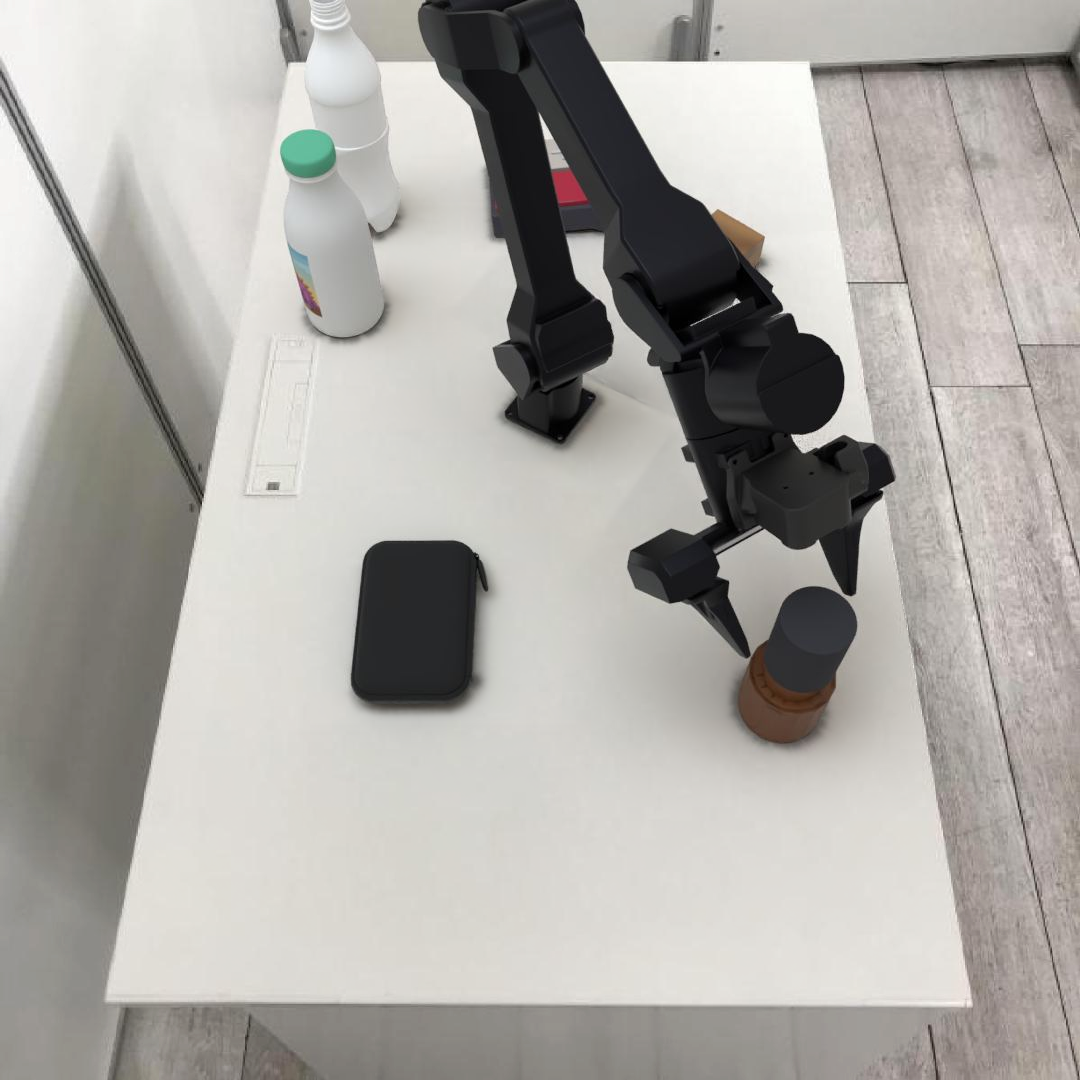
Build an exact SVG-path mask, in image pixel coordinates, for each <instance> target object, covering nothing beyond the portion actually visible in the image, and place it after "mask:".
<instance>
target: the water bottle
mask: <svg viewBox="0 0 1080 1080" xmlns="http://www.w3.org/2000/svg"><path fill="white" fill-rule="evenodd" d="M308 1H309V5H310V8H311V11H310V24H311V26H312V27H313V28H314V35H313V40H312V43H311V45H310V47H309V51H308V53H307V58H306V61H305V65H304V70H303V82H304V83H303V84H304V89H305V92H306V94H307V96H308V101H309V106H310V110H311V113H312V118H313V122H314V130H319V131H322V132H324V133H326V134H327V135H329V136H330V138H331V139H332V141H333V143H334V147H335V151H336V157H337V160H338V165H337V170H338V172H339V174H340V176H341V177H342V178H343V180H344V181H345V182H346V183H347V184H348V185H349V187H350V188H351V189H352V190H353V191H354V193H355V194H356V195H357V197H358V199H359V200H360V202H361V204H362V206H363V209H364V212H365V214H366V218H367V222H368V224H370V226H371V227H372V228H373V230H375V232H376V233H382V232H385V231H386V230H389V228H390V227H391V225H393V223H394V221H395V219H396V217H397V213H398V212H399V208H400V204H401V191H400V184H399V182H398V179H397V177H396V175H395V172H394V170H393V166H392V162H391V157H390V152H389V151H390V150H389V145H390V144H389V140H390V139H389V137H390V136H389V135H390V123H389V119H388V116H387V114H386V107H385V102H384V95H383V89H382V74H381V69H380V67H379V64H378V63H377V61H376V59H375V57H374V55H373V54H372V53H371V52H370V50H369V49H368V47H367V46H366V45H365V44H364V42H363V41H362V40H361V39H360V38H359V36H358V35H357V34H356V33H355V32H354V30H353V28H352V25H351V24H350V22H351V19H352V17H351V13H350V11H349V9H348V7H347V5H346V0H308Z"/></svg>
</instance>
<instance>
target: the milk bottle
mask: <svg viewBox="0 0 1080 1080" xmlns="http://www.w3.org/2000/svg"><path fill="white" fill-rule="evenodd" d="M279 153H280V158H281V163H282V165H283V170H284V172H285V174H286V176H287V177H288V178H289V181H288V191H287V195H286V198H285V201H284V205H283V214H282V217H283V218H282V219H283V220H282V221H283V230H284V237H285V239H286V244H287V248H288V252H289V255H290V259H291V263H292V267H293V270H294V273H295V277H296V280H297V284H298V287H299V290H300V294H301V297H302V300H303V301H302V302H303V304H304V307H305V310H306V313H307V316H308V319H309V322H310V323H311V324H312V325H313V326H314V327H315V328H316V329H317V330H318V331H320V332H321V333H323V334H325V335H328V336H331V337H337V338H351V337H356V336H358V335H362V334H364V333H365V332H368V331H369V330H370V329H372V328H373V327H374V326H375V325H377V323H378V322H379V320H380V319H381V317H382V315H383V312H384V309H385V299H384V293H383V289H382V284H381V283H382V282H381V278H380V277H381V276H380V273H379V268H378V264H377V257H376V253H375V248H374V243H373V239H372V234H371V229H370V226H369V223H368V222H367V218H366V214H365V212H364V209H363V206H362V204H361V202H360V200H359V199H358V197H357V195H356V194H355V193H354V191H353V190H352V189H351V188H350V187H349V185H348V184H347V183H346V182H345V181H344V180H343V178H342V177H341V176H340V174H339V172H338V170H337V165H338V160H337V157H336V151H335V147H334V143H333V141H332V139H331V138H330V136H329V135H327V134H326V133H324V132H322V131H319V130H315V129H314V128H313V129H311V128H310V129H309V128H308V129H301V130H297V131H295V132H292V133H291V134H289V135H287V136H286V137H285V138H284V139H283V140H282V141H281V144H280V148H279Z"/></svg>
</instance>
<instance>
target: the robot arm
mask: <svg viewBox="0 0 1080 1080" xmlns="http://www.w3.org/2000/svg"><path fill="white" fill-rule="evenodd" d="M583 17H584V16H583V13H582V11H581V9H580V6H579V4H578V2H577V1H576V0H425V1H424V2H422V3H421V5H420V7H419V8H418V11H417V23H418V28H419V33H420V35H421V39H422V41H423V44H424V46H425V48H426V50H427V52H428V53H429V54H430V56H431V58H433V59H434V62H435V65H436V68H437V71H438V74H439V76H440V77H441V79H442V80H443V81H444V82H445V83H446V84H447V85H448V86H449V87H450V88H451V89H452V90H453V91H454V92H455V93H456V94H457V95H458V96H459V97H460V98H461V99H462V100H463V101H464V103H466V104H467V105H468V106H469V107H470V110H471V114H472V117H473V121H474V124H475V128H476V132H477V136H478V140H479V144H480V148H481V152H482V155H483V158H484V163H485V167H486V170H487V175H488V180H489V179H490V183H491V187H492V191H493V194H494V198H495V202H496V206H497V210H498V214H499V218H500V221H501V225H502V229H503V233H504V237H503V238H504V240H505V244H506V249H507V252H508V256H509V260H510V263H511V264H510V265H511V267H512V272H513V276H514V279H515V284H516V287H515V291H514V294H513V298H512V299H511V303H510V307H509V310H508V313H507V315H506V326H507V331H508V336H509V337H508V338H509V339H507V340H505V341H503V342H500V343H499V344H497V345H494V346H492V352H493V357H494V360H495V364H496V367H497V369H498V370H499V372H500V373H501V374H502V375H503V377H504V378H505V380H506V381H507V383H509V385H510V386H511V387H512V389H513V391H515V393H516V396H515V397H514V399H513V400H512V401H511V402H510V404H509V405H508V406H507V407H506V409H505V410H504V417H505V419H507V420H510V421H511V422H513V423H514V424H517V425H518V426H521V427H523V428H525V429H527V430H529V431H532V432H533V433H536V434H537V435H540V436H542V437H544V438H546V439H547V440H550V441H552V442H554V443H556V444H558V445H562V444H564V443H566V441H567V440H568V439H569V437H570V436H571V434H572V433H573V432H574V430H575V429H576V428H577V426H578V425H579V424H580V423H581V421H582V420H583V419H584V417H585V416H586V414H587V413H588V412H589V410H590V409H591V408H592V407H593V405H594V404H595V403H596V400H597V394H596V393H594V392H592V391H590V390H588V389H586V388H584V387H583V384H584V383H583V381H584V379H583V378H584V374H586V373H588V372H590V371H592V370H595V369H596V368H599V367H601V366H603V365H605V364H607V362H608V360H609V359H610V358H611V357H612V356H613V352H614V351H613V350H614V347H613V346H614V343H615V334H614V331H613V328H612V326H613V325H612V322H611V321H609V319H608V311H607V306H606V304H604V302H603V301H602V300H601V299H600V298H597V297H596V296H595V295H593V293H591V292H590V290H588V289H587V288H586V287H585V286H584V285H583V284H582V283H581V282H580V281H579V280H578V279H577V277H576V273H575V270H574V265H573V260H572V256H571V251H570V247H569V242H568V237H567V233H566V231H565V228H564V224H563V219H562V215H561V210H560V206H559V201H558V197H557V192H556V188H555V183H554V179H553V174H552V170H551V165H550V161H549V156H548V152H547V147H546V143H545V140H546V139H545V134H544V129H543V125H542V121H543V123H544V124H545V127H546V128H547V130H548V132H549V133H550V136H551V137H552V139H554V141H555V142H556V144H557V146H558V148H559V150H560V151H561V153H562V155H563V157H564V159H565V160H566V162H567V164H568V166H569V168H570V169H571V171H572V173H573V175H574V177H575V179H576V180H577V182H578V184H579V186H580V188H581V189H582V191H583V193H584V195H585V197H586V198H587V200H588V202H589V204H590V206H591V207H592V209H593V211H594V213H595V215H596V217H597V219H598V221H599V223H600V225H601V227H602V230H603V255H602V270H603V273H604V275H605V276H606V279H607V282H608V283H609V286H610V287H611V294H612V300H613V303H614V306H615V310H616V311H617V314H618V315H619V317H620V318H621V320H622V322H623V323H624V324H625V325H626V326H627V327H628V329H630V331H632V332H633V333H634V334H635V335H636V336H637V337H638V338H639V339H641V340H642V341H643V342H644V343H645V344H646V345H647V346H648V347H649V348H650V349H649V350H648V352H647V357H646V362H647V364H648V365H649V366H650V367H653V368H655V367H658V368H659V370H660V372H661V375H662V378H663V381H664V384H665V387H666V389H667V392H668V394H669V397H670V400H671V403H672V405H673V408H674V410H675V413H676V416H677V419H678V421H679V424H680V427H681V429H682V432H683V436H684V438H685V440H686V443H687V444H686V445H684V446H682V447H680V450H681V452H682V453H681V454H682V456H683V458H684V461H685V462H688V463H694V465H695V468H696V470H697V473H698V476H699V478H700V481H701V484H702V487H703V490H704V492H705V495H706V497H707V498H705V499H703V500H702V501H700V504H701V507H702V509H703V511H704V514H705V516H709V517H712V518H713V517H714V519H715V521H716V522H715V523H713V524H712V525H710V526H708V527H706V528H704V529H702V530H701V531H699V532H697V533H695V534H693V533H689V532H685V531H681V530H679V529H675V528H672V527H670V528H669V529H667V530H665V531H663V532H662V533H660V534H658V535H656V536H654V537H652V538H651V539H649V540H647V541H645V542H643V543H641V544H639V545H637V546H636V547H633V548H632V549H630V550H629V554H628V560H627V563H626V564H627V566H626V570H627V573H628V574H629V576H630V579H631V582H632V584H633V586H634V589H636V590H637V591H639V592H642V593H645V594H647V595H649V596H651V597H653V598H656V599H658V600H660V601H662V602H665V603H666V604H669V605H671V604H677V603H683V604H685V605H688V606H691V607H692V608H693V609H694V610H696V611H697V612H698V613H699V614H700V616H701V617H703V619H704V620H706V622H708V624H709V625H710V626H711V627H712V628H713V629H714V630H715V632H717V634H718V635H720V637H722V639H723V640H724V641H725V642H726V643H727V644H728V645H729V646H730V647H731V648H732V649H733V650H734V652H736V654H738V655H739V656H740V657H742V658H744V659H746V660H747V659H749V658H751V657H752V653H751V649H750V645H749V642H748V638H747V637H746V634H745V631H744V629H743V627H742V625H741V622H740V620H739V618H738V616H737V614H736V611H735V609H734V607H733V605H732V602H731V599H730V598H729V591H730V584H731V583H730V580H729V579H726V578H723V577H720V576H718V574H719V571H720V569H721V566H720V563H719V560H718V557H717V556H719V555H721V554H722V553H725V552H726V551H728V550H730V549H731V548H733V547H735V546H737V545H739V544H740V543H742V542H744V541H746V540H748V539H750V538H751V537H753V536H755V535H756V534H758V533H760V532H762V531H763V530H765V531H766V532H768V533H769V534H771V535H772V536H774V537H775V538H777V540H779V541H780V543H781V544H782V545H783V546H785V547H786V548H788V549H790V550H794V551H802V550H806V549H808V548H810V547H813V546H814V545H816V543H817V542H819V545H820V547H821V550H822V552H823V554H824V557H825V559H826V562H827V565H828V567H829V569H830V572H831V574H832V576H833V578H834V580H835V582H836V584H837V585H838V587H839V589H840V591H841V592H842V594H844V596H847V597H851V598H852V597H854V596H855V595H856V594H857V589H858V588H857V587H858V586H857V585H858V574H859V573H858V571H859V556H860V555H859V554H860V543H861V542H860V541H861V534H862V529H863V522H864V519H865V518H866V516H867V515H868V513H869V512H870V511H871V510H872V508H873V506H874V505H876V503H878V502H879V501H881V500H882V498H883V497H884V492H885V491H884V490H882V489H883V488H885V487H887V486H888V485H891V484H893V483H894V482H896V478H897V475H896V472H895V469H894V465H893V463H892V458H891V456H890V454H889V453H888V452H887V451H886V450H885V449H884V448H883V447H882V446H880V445H879V444H877V443H875V442H866V441H858V440H856V439H854V438H852V437H850V436H848V435H846V434H842V435H840V436H838V437H836V438H834V439H833V440H831V441H828V442H827V443H825V444H824V445H821V446H820V447H814V448H812V449H810V450H808V451H807V452H802V451H801V449H800V448H799V446H798V445H797V444H796V443H795V440H794V439H793V435H795V436H796V435H798V436H804V435H808V434H809V435H810V434H812V433H813V434H814V433H816V432H818V431H819V430H821V429H822V428H824V427H825V425H828V423H829V422H830V421H831V420H832V419H833V417H834V416H835V414H836V413H837V412H838V410H839V408H840V406H841V403H842V401H843V396H844V392H845V381H846V380H845V378H846V377H845V371H844V365H843V362H842V360H841V357H840V355H839V354H837V353H836V352H835V350H834V349H833V347H831V345H830V344H829V343H828V342H827V341H825V340H824V339H823V338H821V337H819V336H817V335H815V334H814V333H806V332H799V328H798V326H797V322H796V319H795V317H794V315H793V314H792V313H791V312H785V313H783V312H784V305H783V303H782V302H781V300H780V299H779V298H778V296H777V295H776V294H775V293H774V292H773V289H774V284H772V283H771V282H770V281H769V280H768V279H767V278H766V276H764V274H762V273H761V272H760V271H759V270H757V268H756V267H755V266H754V267H753V266H752V265H751V264H750V262H749V261H748V260H747V259H746V258H745V257H744V256H743V254H742V253H741V252H740V251H739V249H738V248H737V247H736V246H735V244H734V243H733V242H732V241H731V240H730V239H729V238H728V237H727V236H726V235H725V233H724V232H723V231H722V229H721V228H720V226H719V225H718V223H717V222H716V221H715V219H714V218H713V216H712V215H711V214H712V213H711V212H710V211H709V209H708V207H707V206H706V204H704V203H703V202H702V201H700V200H699V199H697V198H696V197H693V196H692V195H690V194H689V193H686V192H684V191H682V189H679V188H677V187H675V186H673V185H672V184H671V183H670V181H669V180H668V179H667V177H666V176H665V174H664V173H663V171H662V170H661V168H660V167H659V165H658V163H657V161H656V159H655V157H654V155H653V154H652V152H651V150H650V148H649V147H648V144H647V143H646V141H645V140H644V138H643V136H642V134H641V132H640V130H639V129H638V126H637V125H636V123H635V122H634V120H633V117H632V116H631V115H630V113H629V111H628V109H627V107H626V106H625V104H624V102H623V100H622V99H621V96H620V95H619V93H618V91H617V90H616V87H615V86H614V84H613V82H612V81H611V79H610V77H609V75H608V73H607V72H606V70H605V68H604V66H603V64H602V63H601V61H600V59H599V58H598V55H597V54H596V52H595V51H594V49H593V47H592V44H591V43H590V42H589V39H588V38H587V36H586V26H585V21H584V18H583ZM541 119H542V120H541ZM736 300H737V301H739V302H738V303H736V304H734V303H735V301H736ZM733 304H734V305H733Z"/></svg>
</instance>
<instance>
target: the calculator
mask: <svg viewBox="0 0 1080 1080" xmlns="http://www.w3.org/2000/svg"><path fill="white" fill-rule="evenodd" d="M545 143H546V147H547V152H548V156H549V161H550V165H551V170H552V174H553V179H554V183H555V188H556V192H557V197H558V201H559V206H560V210H561V215H562V219H563V224H564V228H565V232H568V231H579V230H589V229H593V230H596V231H599V232H601V233H602V232H603V230H602V227H601V225H600V223H599V221H598V219H597V217H596V215H595V213H594V211H593V209H592V207H591V206H590V204H589V202H588V200H587V198H586V197H585V195H584V193H583V191H582V189H581V188H580V186H579V184H578V182H577V180H576V179H575V177H574V175H573V173H572V171H571V169H570V168H569V166H568V164H567V162H566V160H565V159H564V157H563V155H562V153H561V151H560V150H559V148H558V146H557V144H556V142H555V141H554V139H553V138H550V139H549V138H548V139H545ZM488 182H489V198H490V214H491V223H492V230H493V235H494V237H495V238H505V237H504V233H503V229H502V225H501V221H500V218H499V214H498V210H497V206H496V202H495V198H494V194H493V191H492V187H491V183H490V179H489V178H488ZM603 233H604V232H603Z"/></svg>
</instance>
